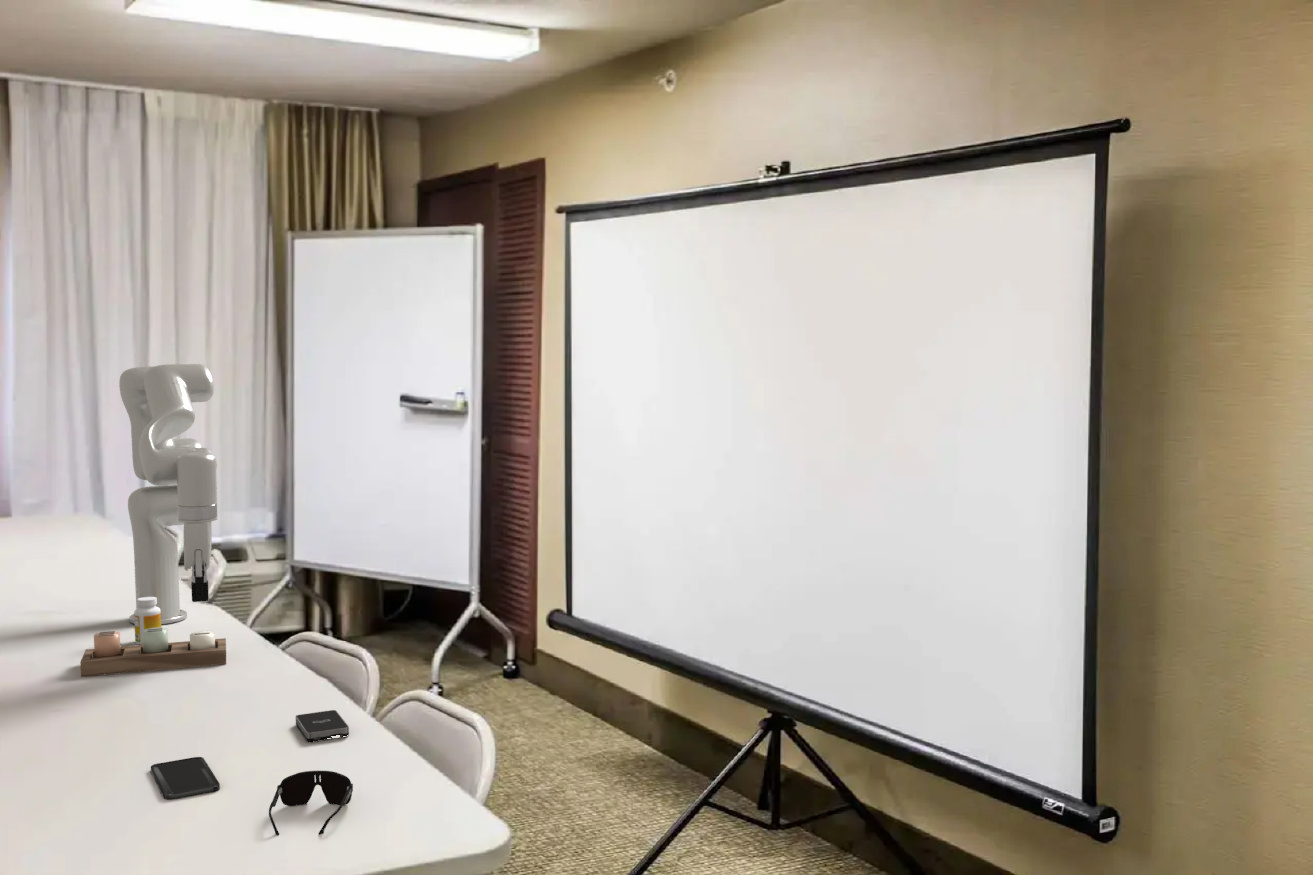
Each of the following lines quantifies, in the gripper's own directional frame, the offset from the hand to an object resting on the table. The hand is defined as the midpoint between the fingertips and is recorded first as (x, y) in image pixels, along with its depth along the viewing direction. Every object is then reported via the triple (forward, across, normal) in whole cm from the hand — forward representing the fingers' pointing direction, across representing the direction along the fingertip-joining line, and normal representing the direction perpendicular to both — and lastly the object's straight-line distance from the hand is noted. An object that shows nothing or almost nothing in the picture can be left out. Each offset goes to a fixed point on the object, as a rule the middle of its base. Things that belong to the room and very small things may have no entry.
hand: (200, 600), depth 254 cm
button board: (+12, +1, -9) cm, 15 cm away
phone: (+11, +73, -1) cm, 74 cm away
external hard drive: (+11, +56, +20) cm, 61 cm away
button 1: (+11, +1, 0) cm, 11 cm away
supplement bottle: (+13, -19, -11) cm, 26 cm away
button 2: (+9, +1, -9) cm, 13 cm away
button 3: (+10, +1, -18) cm, 20 cm away
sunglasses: (+10, +95, +16) cm, 96 cm away
